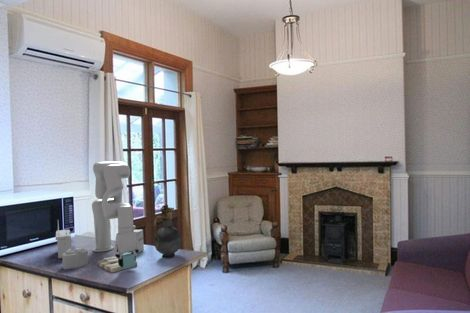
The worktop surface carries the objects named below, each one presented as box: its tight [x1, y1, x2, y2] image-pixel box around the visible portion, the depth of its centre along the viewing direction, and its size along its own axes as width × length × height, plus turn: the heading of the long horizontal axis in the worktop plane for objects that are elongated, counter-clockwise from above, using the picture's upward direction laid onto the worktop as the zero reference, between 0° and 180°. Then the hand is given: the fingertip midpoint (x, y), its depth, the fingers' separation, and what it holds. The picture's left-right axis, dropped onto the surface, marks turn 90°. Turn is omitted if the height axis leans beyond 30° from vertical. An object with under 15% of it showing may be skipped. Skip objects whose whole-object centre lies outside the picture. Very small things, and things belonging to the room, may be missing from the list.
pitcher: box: [153, 204, 182, 259], centre depth 207 cm, size 11×19×30 cm, turn 153°
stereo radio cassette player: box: [55, 219, 73, 260], centre depth 222 cm, size 21×8×20 cm, turn 25°
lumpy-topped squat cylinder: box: [61, 247, 89, 270], centre depth 199 cm, size 10×13×9 cm
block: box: [120, 252, 136, 270], centre depth 187 cm, size 5×6×6 cm
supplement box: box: [127, 229, 145, 254], centre depth 223 cm, size 7×7×13 cm
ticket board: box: [97, 255, 138, 273], centre depth 196 cm, size 18×14×3 cm
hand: (127, 264), depth 187 cm, fingers closed on block, 6 cm apart
